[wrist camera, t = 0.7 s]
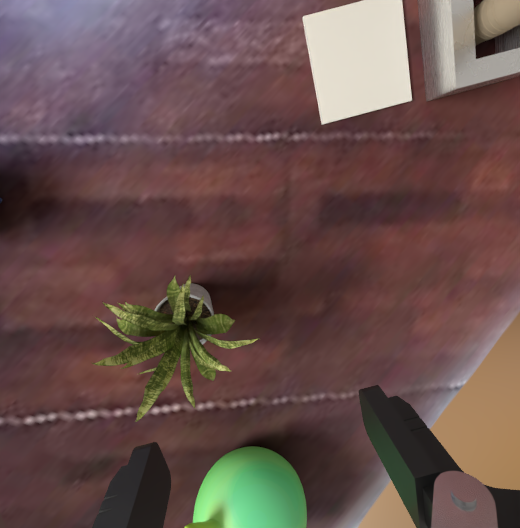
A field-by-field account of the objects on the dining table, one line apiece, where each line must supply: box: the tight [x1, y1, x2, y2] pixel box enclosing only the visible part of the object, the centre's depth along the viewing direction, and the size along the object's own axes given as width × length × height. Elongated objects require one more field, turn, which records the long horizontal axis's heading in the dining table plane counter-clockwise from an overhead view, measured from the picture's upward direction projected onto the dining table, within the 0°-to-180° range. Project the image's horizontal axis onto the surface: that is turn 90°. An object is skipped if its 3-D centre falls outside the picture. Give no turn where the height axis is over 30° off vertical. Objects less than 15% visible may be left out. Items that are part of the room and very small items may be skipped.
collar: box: [418, 0, 520, 101], centre depth 32 cm, size 12×11×5 cm
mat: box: [302, 0, 412, 125], centre depth 34 cm, size 11×11×1 cm
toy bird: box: [185, 446, 307, 528], centre depth 41 cm, size 18×17×15 cm
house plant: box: [92, 275, 258, 422], centre depth 32 cm, size 14×14×16 cm
